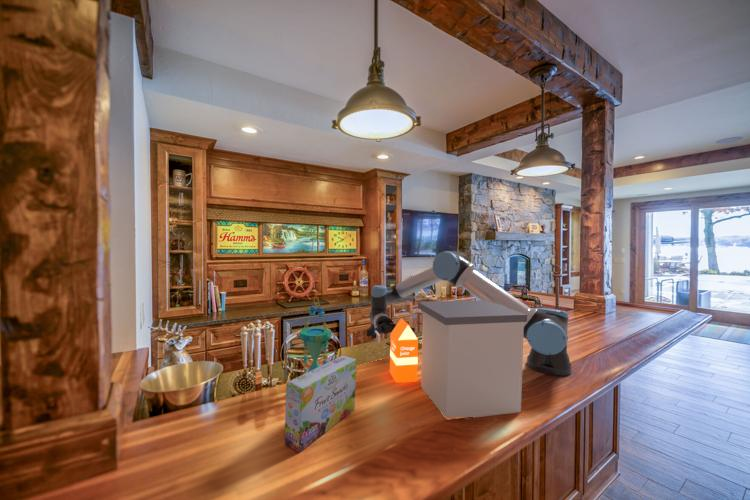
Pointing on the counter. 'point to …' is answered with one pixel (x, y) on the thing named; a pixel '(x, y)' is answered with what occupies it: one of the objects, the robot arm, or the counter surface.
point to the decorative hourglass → (315, 339)
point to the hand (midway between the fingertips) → (396, 338)
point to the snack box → (319, 401)
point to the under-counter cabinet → (472, 357)
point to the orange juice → (403, 353)
